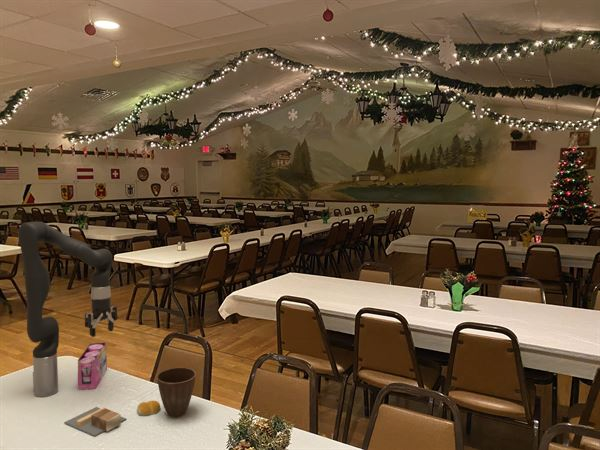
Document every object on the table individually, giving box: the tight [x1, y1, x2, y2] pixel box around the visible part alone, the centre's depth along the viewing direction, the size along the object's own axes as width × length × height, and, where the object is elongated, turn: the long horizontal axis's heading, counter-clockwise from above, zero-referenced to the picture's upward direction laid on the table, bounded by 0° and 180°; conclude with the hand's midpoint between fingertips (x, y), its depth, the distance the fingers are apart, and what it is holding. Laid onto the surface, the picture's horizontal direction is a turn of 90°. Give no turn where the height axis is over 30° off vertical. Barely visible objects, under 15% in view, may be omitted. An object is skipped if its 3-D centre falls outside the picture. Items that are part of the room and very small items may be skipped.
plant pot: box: [156, 367, 197, 418], centre depth 183 cm, size 15×15×16 cm
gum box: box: [77, 342, 108, 390], centre depth 213 cm, size 24×8×14 cm, turn 11°
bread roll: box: [136, 400, 161, 417], centre depth 185 cm, size 8×9×4 cm
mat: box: [63, 406, 127, 438], centre depth 176 cm, size 18×14×2 cm
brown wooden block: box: [91, 407, 122, 432], centre depth 173 cm, size 4×6×9 cm
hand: (102, 333), depth 194 cm, fingers open, 8 cm apart
